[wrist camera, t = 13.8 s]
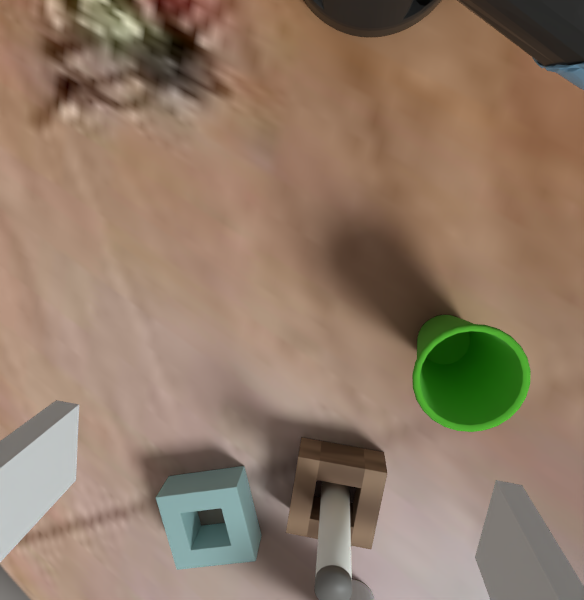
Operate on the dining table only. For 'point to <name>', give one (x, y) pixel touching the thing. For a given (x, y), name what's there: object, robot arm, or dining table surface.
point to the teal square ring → (216, 537)
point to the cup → (468, 374)
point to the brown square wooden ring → (341, 470)
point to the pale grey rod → (334, 544)
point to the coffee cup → (360, 591)
